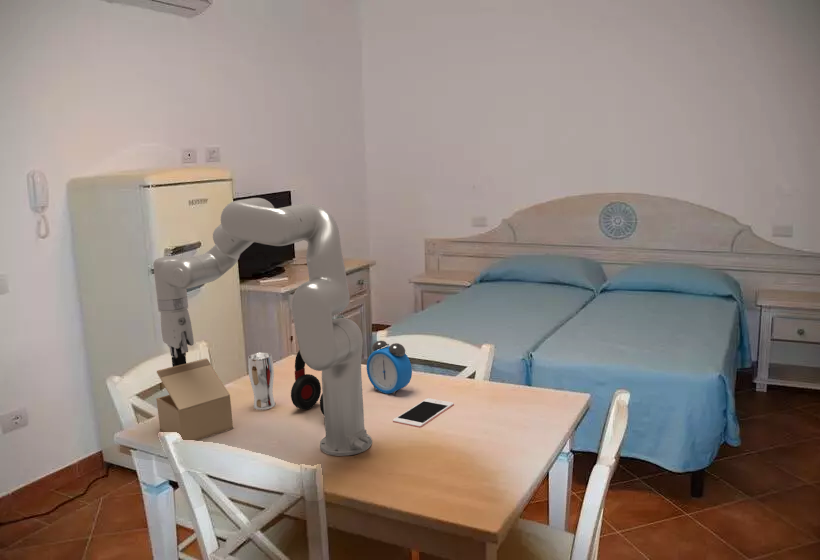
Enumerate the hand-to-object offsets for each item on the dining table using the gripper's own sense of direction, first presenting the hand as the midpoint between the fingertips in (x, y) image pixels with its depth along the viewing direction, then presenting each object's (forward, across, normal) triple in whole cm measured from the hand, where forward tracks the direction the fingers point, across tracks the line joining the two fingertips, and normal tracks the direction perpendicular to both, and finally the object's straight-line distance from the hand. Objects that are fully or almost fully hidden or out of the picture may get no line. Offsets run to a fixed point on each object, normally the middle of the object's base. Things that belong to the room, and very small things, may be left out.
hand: (180, 370), depth 186 cm
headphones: (+15, -22, -29) cm, 40 cm away
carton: (+15, -7, 0) cm, 16 cm away
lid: (+2, -8, 0) cm, 8 cm away
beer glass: (+15, -6, -21) cm, 26 cm away
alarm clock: (+15, -23, -53) cm, 60 cm away
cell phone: (+15, -43, -48) cm, 67 cm away
